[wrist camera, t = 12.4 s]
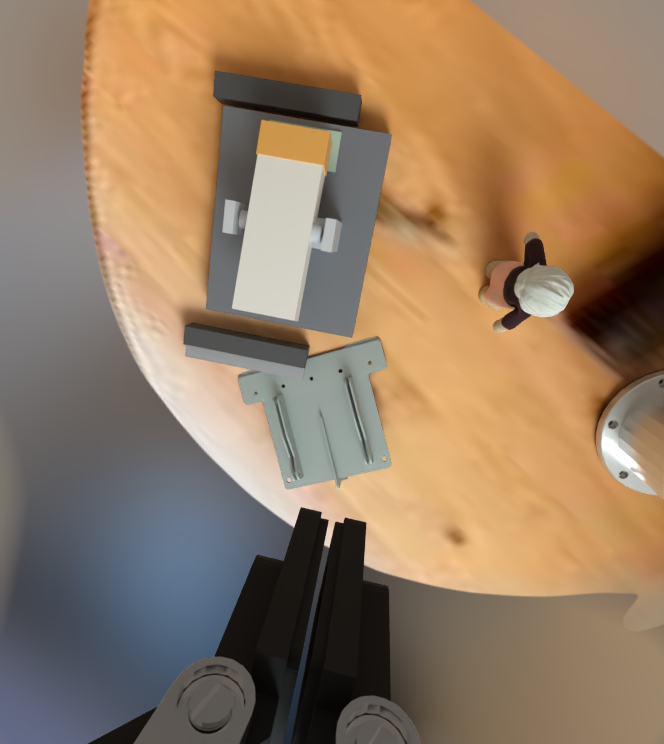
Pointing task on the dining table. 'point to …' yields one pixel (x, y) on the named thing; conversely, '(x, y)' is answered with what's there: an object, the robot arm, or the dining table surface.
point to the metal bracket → (324, 415)
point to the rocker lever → (281, 219)
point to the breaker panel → (334, 204)
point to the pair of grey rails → (292, 102)
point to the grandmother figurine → (526, 286)
